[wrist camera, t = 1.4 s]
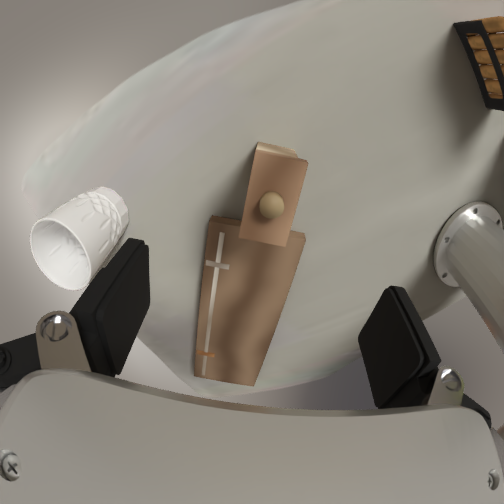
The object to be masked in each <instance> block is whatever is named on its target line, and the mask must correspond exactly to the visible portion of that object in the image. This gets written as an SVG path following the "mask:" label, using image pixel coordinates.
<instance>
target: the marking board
mask: <svg viewBox="0 0 504 504" xmlns="http://www.w3.org/2000/svg"><path fill="white" fill-rule="evenodd" d="M241 222H242V221H240V220H235V219H230V218H224V217H219V216H214V215H212V216H211V218H210V221H209V227H208V235H207V243H206V251H205V260H204V268H203V278H202V287H201V297H200V307H199V318H198V329H197V341H196V354H195V368H194V376H196V377H201V378H206V379H211V380H216V381H222V382H228V383H234V384H240V385H247V386H254V384H255V382H256V379H257V377H258V374H259V372H260V369H261V367H262V364H263V361H264V359H265V356H266V353H267V351H268V348H269V345H270V343H271V340H272V337H273V335H274V332H275V329H276V326H277V324H278V321H279V318H280V315H281V312H282V310H283V307H284V304H285V301H286V298H287V295H288V292H289V289H290V287H291V284H292V281H293V278H294V275H295V272H296V269H297V266H298V263H299V260H300V257H301V254H302V250H303V247H304V244H305V241H306V239H305V234H304V233H300V232H295V231H291V230H290V233H289V236H288V240H287V243H286V247H283V246H278V245H273V244H268V243H263V242H258V241H253V240H247V239H242V238H238V237H239V232H240V227H241Z"/></svg>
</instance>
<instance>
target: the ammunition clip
mask: <svg viewBox="0 0 504 504" xmlns="http://www.w3.org/2000/svg"><path fill="white" fill-rule="evenodd" d="M454 27H455V29H456V31H457V33H458V35H459V37H460V39H461V41H462V43H463V46H464V48H465V50H466V52H467V55H468V57H469V60H470V62H471V65H472V67H473V70H474V72H475V75H476V78H477V81H478V84H479V86H480V89H481V93H482V96H483V99H484V102H485V106H486V108H489V109H495V110H501V111H504V50H503V49H504V33H497V32H504V17H501V16H498V17H490V18H484V19H478V20H472V21H465V22H458V23H454ZM487 33H489V34H487ZM496 33H497V34H496ZM482 49H487V50H482ZM494 49H496V50H494ZM487 64H493V65H487ZM500 64H502V65H500ZM495 79H498V80H495ZM500 94H502V95H500Z"/></svg>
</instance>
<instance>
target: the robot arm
mask: <svg viewBox="0 0 504 504" xmlns="http://www.w3.org/2000/svg"><path fill="white" fill-rule="evenodd" d="M434 268H435V271H436V273H437V275H438V276H439V278H440V279H441V280H442V281H443V282H444V283H445V284H446V285H448V286H452V287H461V289H462V290H463V291H464V293H465V294H466V296H467V297H468V298H469V300H470V301H471V303H472V304H473V306H474V307H475V309H476V310H477V312H478V313H479V315H480V316H481V318H482V319H483V321H484V322H485V324H486V325H487V327H488V329H489V330H490V332H491V333H492V335H493V337H494V338H495V340H496V342H497V343H498V345H499V347H500V349H501V350H502V352H503V354H504V230H503V224H502V219H501V217H500V215H499V213H498V212H497V210H496V209H495V208H493V207H492V206H491V205H489V204H487V203H486V202H481V201H478V202H472V203H469V204H467V205H465V206H463V207H462V208H460V209H459V210H458V211H456V212H455V213H454V214H453V215H452V216H451V218H450V219H449V220H448V221H447V223H446V224H445V226H444V227H443V229H442V231H441V233H440V235H439V237H438V240H437V242H436V245H435V250H434ZM149 306H150V282H149V247H148V245H145V243H144V241H143V240H138V239H133V238H129V239H127V241H126V242H125V243H124V244H123V246H122V247H121V248H120V249H119V251H118V252H117V253H116V254H115V256H114V257H113V258H112V260H111V261H110V262H109V263H108V265H107V266H106V267H105V268H102V269H101V270H100V271H99V272H98V274H97V275H96V276H95V278H94V279H93V280H92V282H91V283H90V284H89V286H88V287H87V289H86V290H85V291H84V293H83V294H82V295H81V297H80V298H79V300H78V301H77V302H76V304H75V305H74V307H73V308H72V310H71V311H70V313H67V312H64V311H53V312H50V313H47V314H46V315H44V316H43V317H42V318H41V319H40V320H39V321H38V323H37V326H36V333H34V334H31V335H28V336H25V337H22V338H19V339H15V340H13V341H10V342H6V343H3V344H0V504H504V424H503V425H502V426H500V427H499V428H498V429H497V430H495V429H494V428H492V429H491V418H490V414H489V413H488V411H486V410H485V409H484V408H483V407H481V406H480V405H479V404H477V403H476V402H475V401H473V400H472V399H471V398H469V397H468V396H467V395H465V394H464V393H463V392H464V382H463V379H462V377H461V375H460V374H459V373H458V372H457V371H456V370H455V369H454V368H452V367H449V366H443V367H441V368H440V369H438V367H437V366H438V365H439V363H440V362H441V359H440V357H439V354H438V352H437V350H436V348H435V346H434V344H433V342H432V340H431V338H430V336H429V334H428V332H427V330H426V328H425V326H424V324H423V322H422V320H421V318H420V316H419V314H418V312H417V311H416V309H415V307H414V305H413V303H412V301H411V300H410V298H409V296H408V294H407V292H406V291H405V289H404V288H403V287H398V286H390V287H388V288H387V289H385V290H384V292H383V294H382V295H381V297H380V299H379V301H378V303H377V304H376V306H375V308H374V310H373V312H372V313H371V315H370V317H369V318H368V320H367V322H366V324H365V325H364V327H363V329H362V330H361V332H360V334H359V337H358V342H359V346H360V349H361V353H362V356H363V360H364V364H365V367H366V371H367V375H368V379H369V382H370V387H371V391H372V394H373V399H374V403H375V405H376V407H378V409H371V410H305V409H287V408H274V407H263V406H254V405H246V404H238V403H230V402H223V401H217V400H211V399H205V398H200V397H194V396H189V395H184V394H179V393H175V392H171V391H165V390H161V389H157V388H153V387H149V386H145V385H141V384H137V383H133V382H129V381H125V380H122V379H118V378H114V377H115V375H116V374H117V375H119V374H120V373H121V371H122V369H123V366H124V364H125V361H126V359H127V356H128V354H129V352H130V350H131V347H132V345H133V343H134V340H135V338H136V336H137V333H138V331H139V329H140V327H141V324H142V322H143V320H144V318H145V315H146V313H147V311H148V309H149Z"/></svg>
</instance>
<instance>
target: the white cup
mask: <svg viewBox="0 0 504 504" xmlns="http://www.w3.org/2000/svg"><path fill="white" fill-rule="evenodd" d="M128 222H129V218H128V209H127V207H126V205H125V202H124V200H123V198H122V197H121V196H120V195H118V194H117V193H116V192H115V191H114V190H113V189H110V188H107V187H103V186H101V187H96V188H92V189H90V190H89V191H87V192H85V193H83V194H81V195H79V196H77V197H75V198H73V199H72V200H70V201H68V202H66V203H64V204H63V205H61V206H60V207H58V208H56V209H55V210H53V211H52V212H50V213H49V214H47V215H46V216H44V217H42V218H41V219H39V220H38V221H37V222H36V223H35V224H34V225H33V227H32V229H31V233H30V246H31V251H32V254H33V257H34V259H35V261H36V263H37V265H38V266H39V268H40V270H41V271H42V272H43V274H45V276H46V277H47V278H48V279H49V280H51V281H52V282H53V283H54V284H56V285H57V286H59V287H61V288H63V289H66V290H70V291H78V290H81V289H83V288H85V287H86V286H87V285H88V283H89V282H90V280H91V279H92V277H93V276H94V274H95V273H96V271H97V270H98V269H99V267H100V266H101V265H102V263H103V262H104V260H105V259H106V258H107V256H108V255H109V253H110V252H111V250H112V249H113V248H114V246H115V245H116V243H117V241H118V240H119V238H120V237H121V236H122V235H123V233H124V232H125V230H126V227H127V225H128Z"/></svg>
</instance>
